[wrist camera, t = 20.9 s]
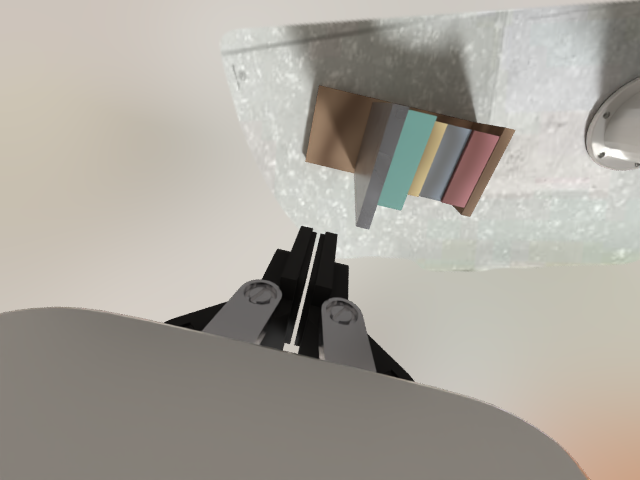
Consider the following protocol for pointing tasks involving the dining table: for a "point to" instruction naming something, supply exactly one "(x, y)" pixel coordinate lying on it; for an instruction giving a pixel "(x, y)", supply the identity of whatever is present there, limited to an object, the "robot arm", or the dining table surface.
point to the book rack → (438, 157)
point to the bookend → (376, 157)
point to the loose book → (406, 159)
